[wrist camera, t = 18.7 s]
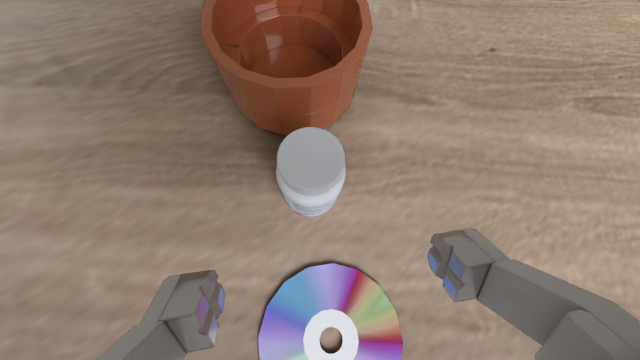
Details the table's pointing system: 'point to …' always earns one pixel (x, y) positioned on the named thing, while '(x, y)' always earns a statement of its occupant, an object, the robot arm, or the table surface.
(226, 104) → the table surface
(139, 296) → the table surface
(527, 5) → the table surface
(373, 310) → the cd
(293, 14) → the pot
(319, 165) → the pill bottle
